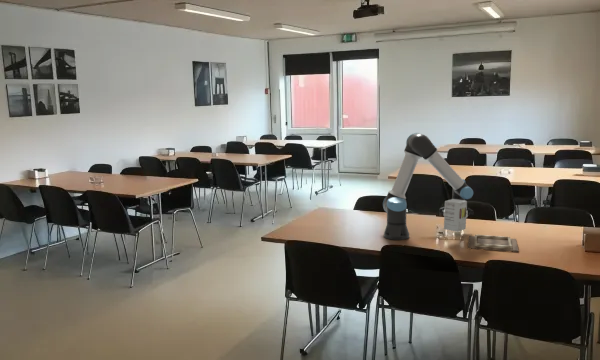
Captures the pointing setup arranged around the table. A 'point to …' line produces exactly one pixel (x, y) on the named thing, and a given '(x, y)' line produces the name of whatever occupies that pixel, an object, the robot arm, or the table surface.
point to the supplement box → (455, 215)
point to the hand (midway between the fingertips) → (455, 214)
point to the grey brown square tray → (493, 243)
